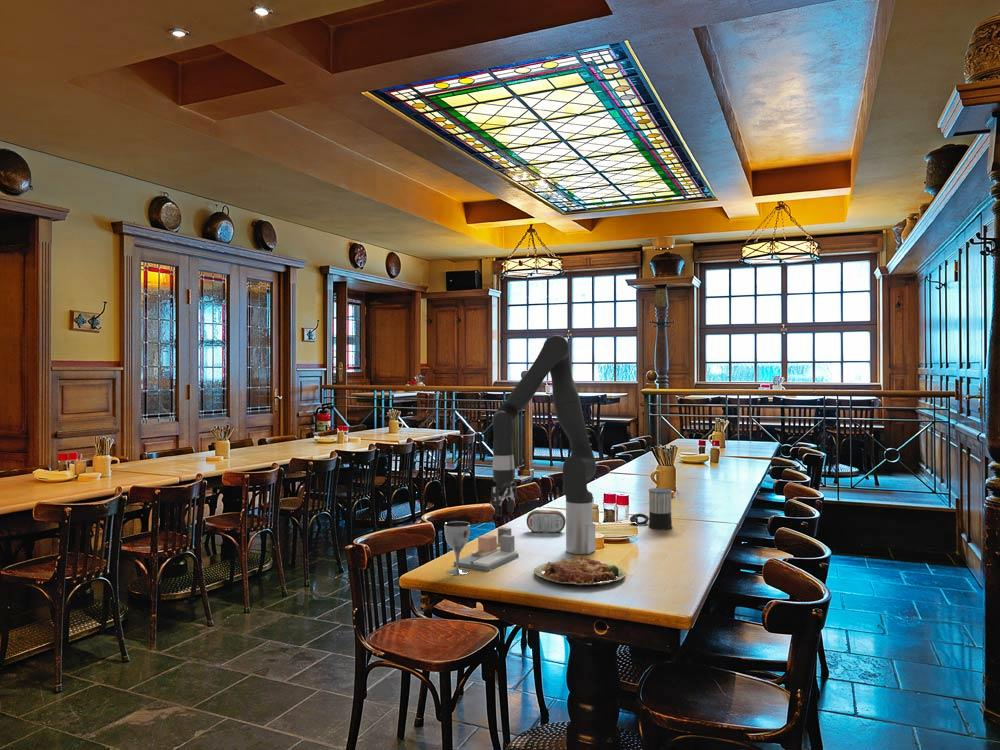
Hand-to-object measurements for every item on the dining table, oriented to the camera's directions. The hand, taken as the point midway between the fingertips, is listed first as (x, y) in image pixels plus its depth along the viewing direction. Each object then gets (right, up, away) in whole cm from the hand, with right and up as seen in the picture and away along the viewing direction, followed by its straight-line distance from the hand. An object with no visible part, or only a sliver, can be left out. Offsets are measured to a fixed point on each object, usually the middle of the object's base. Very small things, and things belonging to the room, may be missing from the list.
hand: (504, 514), depth 242 cm
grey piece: (-4, -11, -6) cm, 13 cm away
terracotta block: (-6, -10, -9) cm, 15 cm away
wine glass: (-15, -13, -27) cm, 34 cm away
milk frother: (+59, -12, +35) cm, 69 cm away
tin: (+16, -12, +25) cm, 32 cm away
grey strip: (-3, -11, -17) cm, 20 cm away
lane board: (-6, -12, -15) cm, 20 cm away
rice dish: (+22, -13, -32) cm, 41 cm away
